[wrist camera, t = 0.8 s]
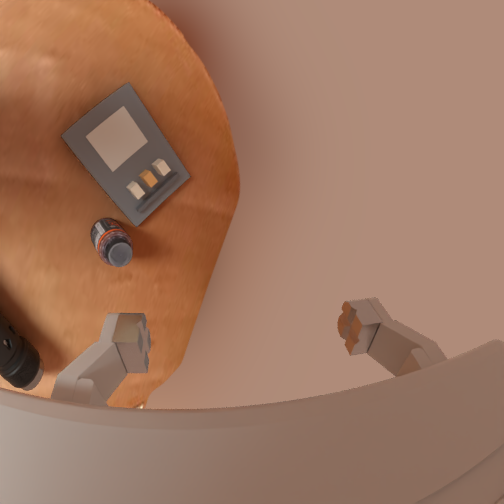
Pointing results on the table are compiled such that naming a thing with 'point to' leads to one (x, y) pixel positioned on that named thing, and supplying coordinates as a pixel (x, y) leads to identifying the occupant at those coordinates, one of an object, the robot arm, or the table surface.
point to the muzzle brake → (18, 358)
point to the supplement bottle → (112, 242)
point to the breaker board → (127, 154)
